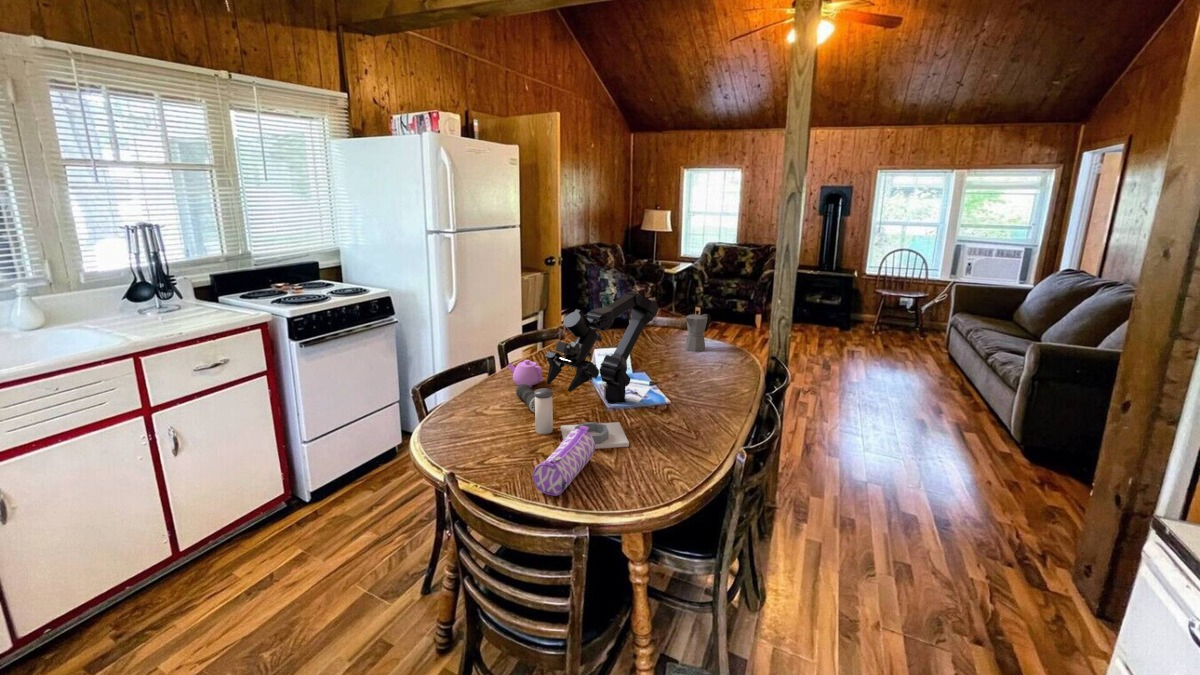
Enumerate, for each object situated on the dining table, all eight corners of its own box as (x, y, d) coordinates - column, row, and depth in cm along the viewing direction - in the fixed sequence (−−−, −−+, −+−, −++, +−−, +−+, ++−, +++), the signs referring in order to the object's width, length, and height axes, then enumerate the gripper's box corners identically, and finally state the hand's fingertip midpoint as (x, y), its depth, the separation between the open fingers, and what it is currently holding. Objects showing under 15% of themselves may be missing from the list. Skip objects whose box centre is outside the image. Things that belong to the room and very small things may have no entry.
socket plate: (619, 425, 168) (619, 414, 167) (628, 446, 155) (629, 434, 154) (560, 429, 165) (560, 418, 164) (565, 450, 152) (565, 438, 151)
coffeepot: (691, 353, 242) (694, 314, 237) (677, 348, 249) (679, 310, 245) (716, 348, 251) (718, 310, 246) (701, 343, 258) (703, 306, 253)
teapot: (535, 391, 195) (535, 366, 193) (500, 385, 201) (499, 361, 199) (550, 382, 205) (549, 358, 202) (516, 376, 210) (515, 353, 208)
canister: (552, 426, 168) (551, 387, 164) (553, 433, 163) (553, 394, 159) (534, 427, 167) (533, 388, 163) (535, 434, 162) (534, 395, 158)
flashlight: (514, 398, 190) (514, 383, 188) (529, 395, 192) (529, 381, 191) (530, 414, 176) (529, 398, 175) (545, 411, 179) (545, 395, 177)
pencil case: (565, 502, 127) (565, 466, 125) (529, 495, 130) (528, 459, 128) (597, 460, 148) (597, 427, 145) (565, 454, 151) (565, 422, 148)
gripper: (549, 325, 171) (522, 367, 166) (593, 336, 159) (566, 381, 154) (566, 344, 179) (542, 385, 174) (610, 356, 167) (585, 400, 162)
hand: (557, 387), depth 166 cm, fingers open, 9 cm apart
